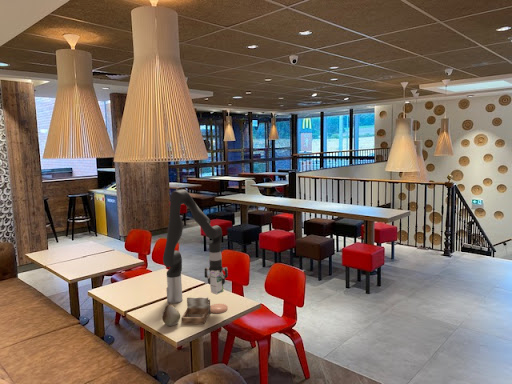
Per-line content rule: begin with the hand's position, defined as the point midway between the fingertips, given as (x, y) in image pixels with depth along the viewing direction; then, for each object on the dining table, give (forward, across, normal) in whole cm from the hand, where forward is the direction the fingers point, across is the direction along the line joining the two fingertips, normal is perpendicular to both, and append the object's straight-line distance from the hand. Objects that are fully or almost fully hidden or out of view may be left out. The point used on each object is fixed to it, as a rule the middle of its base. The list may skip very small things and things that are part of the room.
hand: (216, 283), depth 235 cm
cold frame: (+16, -11, -13) cm, 24 cm away
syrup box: (+6, 0, 0) cm, 6 cm away
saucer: (+16, 0, 0) cm, 16 cm away
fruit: (+17, -23, -20) cm, 35 cm away
